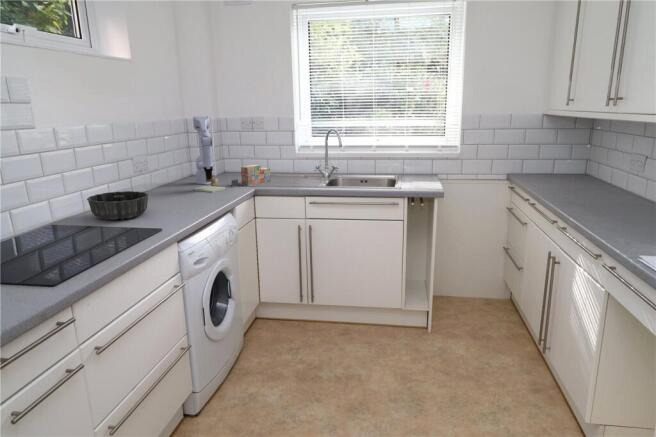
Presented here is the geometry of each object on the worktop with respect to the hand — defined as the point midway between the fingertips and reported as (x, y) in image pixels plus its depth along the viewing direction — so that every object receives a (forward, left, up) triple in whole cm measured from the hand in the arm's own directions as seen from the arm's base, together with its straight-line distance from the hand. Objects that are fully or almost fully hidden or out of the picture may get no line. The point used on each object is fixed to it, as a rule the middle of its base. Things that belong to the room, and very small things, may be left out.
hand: (208, 178), depth 271 cm
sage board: (0, 0, -7) cm, 7 cm away
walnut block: (0, 0, -2) cm, 2 cm away
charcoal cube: (+5, +19, -7) cm, 20 cm away
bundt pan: (+10, -70, -7) cm, 71 cm away
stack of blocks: (+10, +34, -7) cm, 36 cm away
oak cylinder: (-5, +9, -7) cm, 12 cm away
